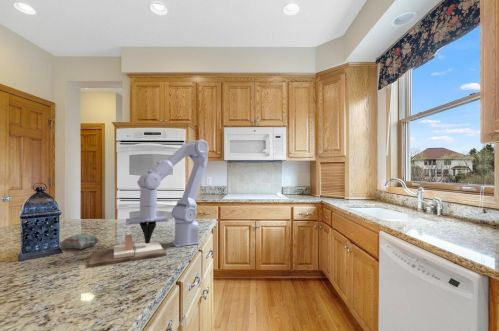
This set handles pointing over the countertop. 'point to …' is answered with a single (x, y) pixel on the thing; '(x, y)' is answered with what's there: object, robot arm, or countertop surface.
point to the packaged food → (79, 241)
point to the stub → (124, 248)
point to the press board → (108, 258)
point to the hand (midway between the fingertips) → (147, 242)
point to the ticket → (147, 248)
